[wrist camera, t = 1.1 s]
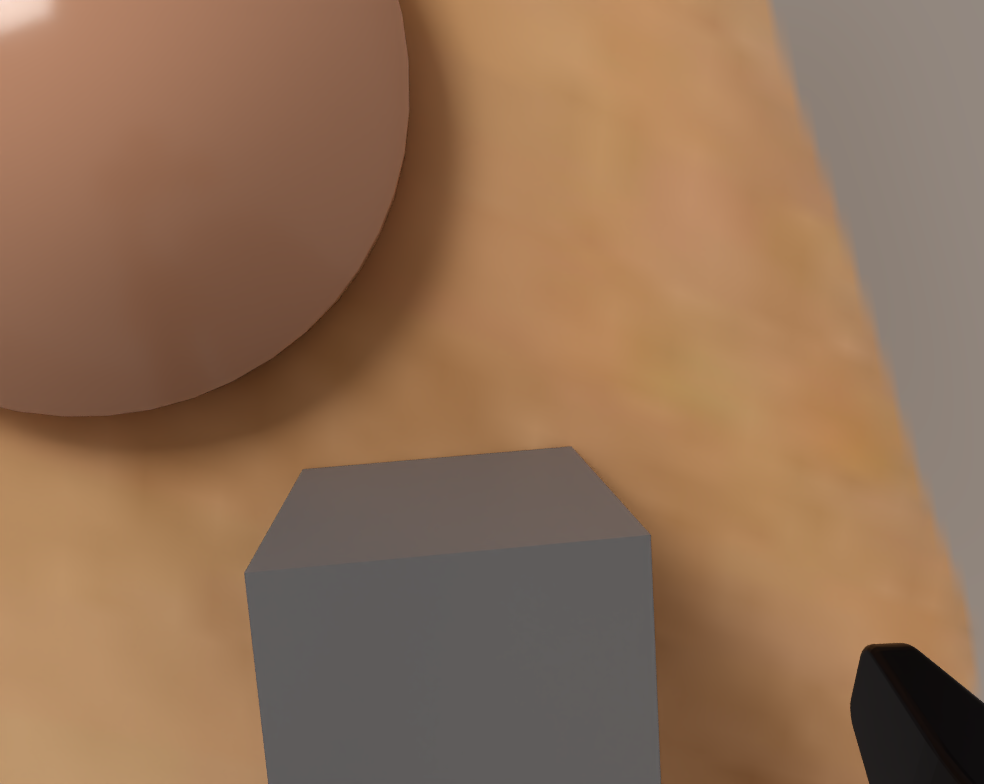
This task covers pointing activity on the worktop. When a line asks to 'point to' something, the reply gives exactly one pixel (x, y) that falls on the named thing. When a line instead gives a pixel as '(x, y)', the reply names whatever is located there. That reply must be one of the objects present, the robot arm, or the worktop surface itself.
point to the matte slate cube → (456, 626)
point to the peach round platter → (185, 187)
